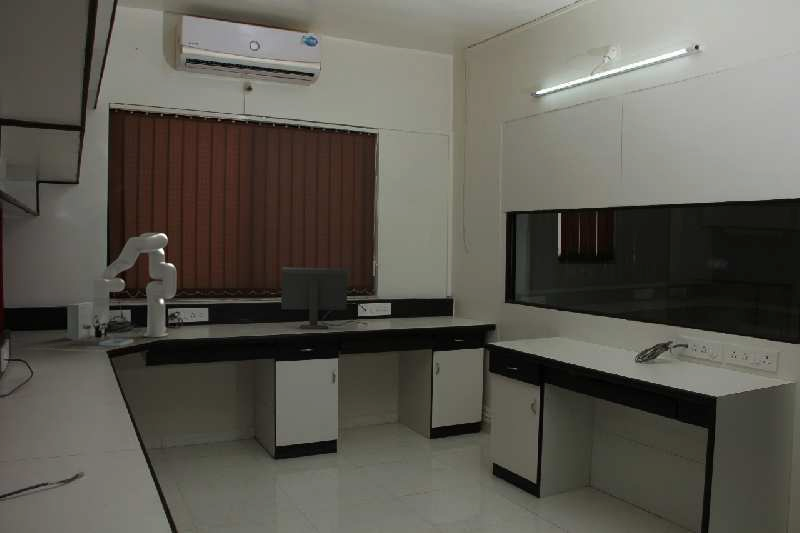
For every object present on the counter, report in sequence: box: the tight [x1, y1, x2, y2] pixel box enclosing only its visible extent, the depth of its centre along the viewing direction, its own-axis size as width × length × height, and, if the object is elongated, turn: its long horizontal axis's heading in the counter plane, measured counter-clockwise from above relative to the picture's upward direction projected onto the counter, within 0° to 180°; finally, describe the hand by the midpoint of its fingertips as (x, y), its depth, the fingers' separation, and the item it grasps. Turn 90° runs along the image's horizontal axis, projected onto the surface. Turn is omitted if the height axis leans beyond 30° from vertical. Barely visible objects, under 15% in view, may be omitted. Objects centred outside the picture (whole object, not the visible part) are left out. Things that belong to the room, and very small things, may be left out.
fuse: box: [83, 325, 91, 339], centre depth 326 cm, size 4×4×9 cm
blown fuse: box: [97, 325, 105, 340], centre depth 325 cm, size 4×4×9 cm
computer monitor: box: [280, 266, 349, 330], centre depth 417 cm, size 44×16×40 cm, turn 94°
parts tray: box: [98, 338, 134, 347], centre depth 323 cm, size 14×11×2 cm
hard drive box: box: [67, 301, 99, 340], centre depth 341 cm, size 16×8×20 cm, turn 160°
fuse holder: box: [70, 334, 116, 346], centre depth 326 cm, size 16×15×4 cm
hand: (100, 336), depth 325 cm, fingers open, 4 cm apart
